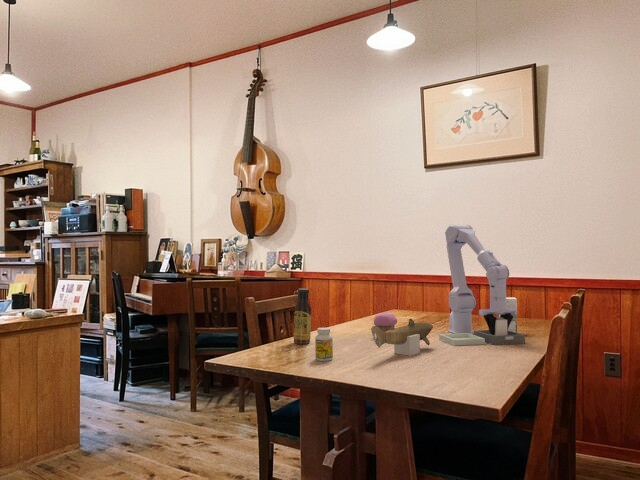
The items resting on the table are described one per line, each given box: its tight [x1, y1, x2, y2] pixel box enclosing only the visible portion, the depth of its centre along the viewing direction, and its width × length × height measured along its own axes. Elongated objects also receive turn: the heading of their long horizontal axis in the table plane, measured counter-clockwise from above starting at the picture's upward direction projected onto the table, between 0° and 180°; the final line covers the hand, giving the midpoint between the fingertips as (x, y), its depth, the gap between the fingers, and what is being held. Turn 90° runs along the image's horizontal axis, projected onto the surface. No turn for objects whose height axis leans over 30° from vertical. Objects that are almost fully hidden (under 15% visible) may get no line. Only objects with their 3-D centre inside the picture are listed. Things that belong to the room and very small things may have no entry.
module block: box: [490, 316, 507, 336], centre depth 182 cm, size 4×4×9 cm
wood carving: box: [370, 318, 434, 357], centre depth 160 cm, size 9×35×11 cm, turn 138°
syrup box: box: [498, 296, 518, 333], centre depth 199 cm, size 6×6×14 cm
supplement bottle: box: [314, 327, 334, 362], centre depth 152 cm, size 5×5×10 cm
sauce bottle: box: [292, 288, 312, 345], centre depth 179 cm, size 7×6×20 cm
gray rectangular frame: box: [473, 329, 526, 346], centre depth 182 cm, size 14×13×3 cm
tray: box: [438, 333, 486, 347], centre depth 180 cm, size 12×12×2 cm
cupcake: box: [373, 311, 398, 332], centre depth 189 cm, size 9×9×10 cm
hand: (498, 334), depth 182 cm, fingers closed on module block, 4 cm apart
